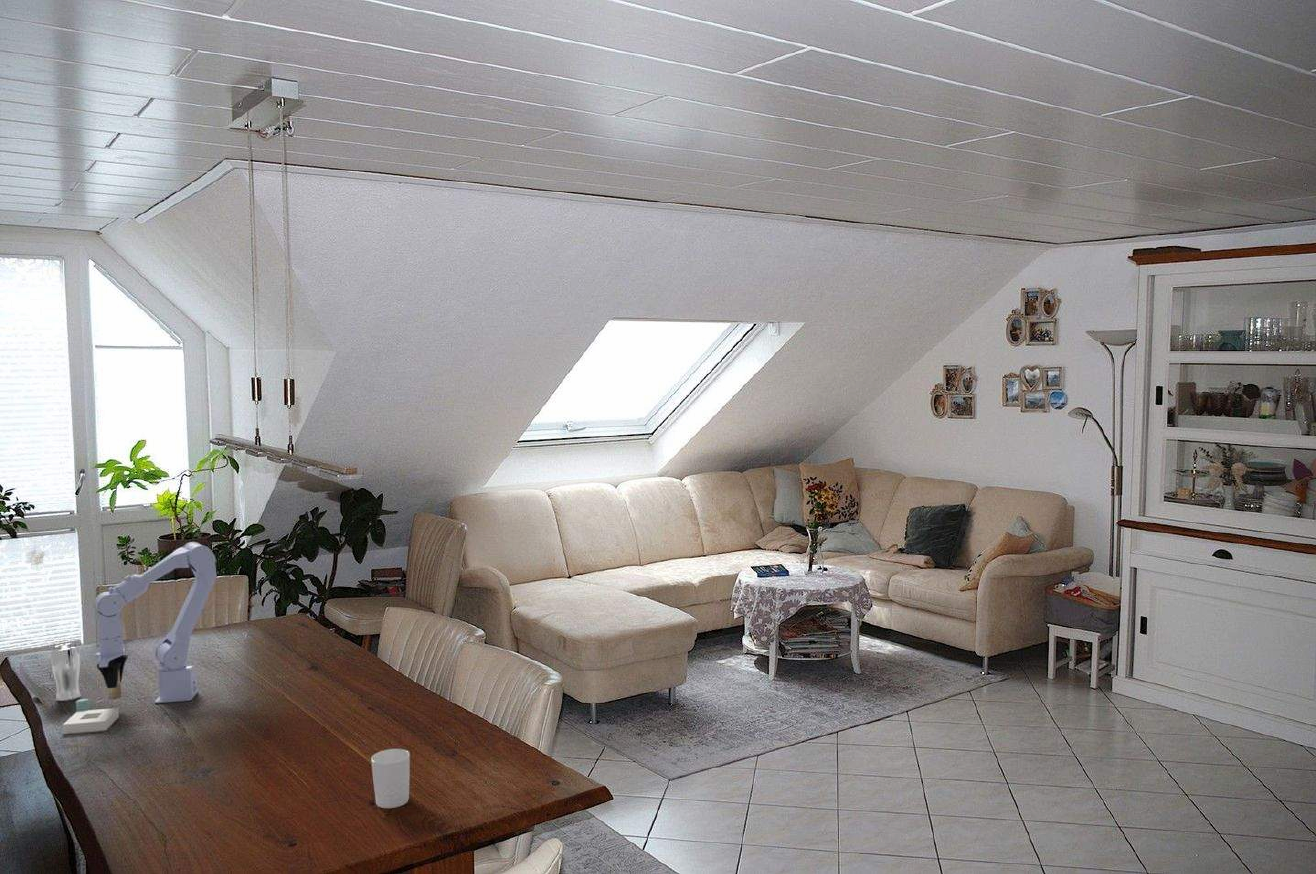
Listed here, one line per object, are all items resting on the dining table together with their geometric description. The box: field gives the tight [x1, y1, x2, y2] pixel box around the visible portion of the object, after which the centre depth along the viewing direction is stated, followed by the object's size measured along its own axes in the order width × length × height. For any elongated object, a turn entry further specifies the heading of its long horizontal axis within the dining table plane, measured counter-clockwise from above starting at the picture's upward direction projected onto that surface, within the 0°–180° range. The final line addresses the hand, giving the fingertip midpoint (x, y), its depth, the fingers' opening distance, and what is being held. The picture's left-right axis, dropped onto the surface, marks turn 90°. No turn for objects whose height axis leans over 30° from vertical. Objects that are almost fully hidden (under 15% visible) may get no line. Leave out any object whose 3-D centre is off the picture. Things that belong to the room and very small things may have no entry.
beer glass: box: [50, 642, 82, 702], centre depth 282 cm, size 7×7×15 cm
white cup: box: [370, 748, 411, 809], centre depth 211 cm, size 8×8×10 cm
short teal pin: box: [75, 698, 91, 712], centre depth 267 cm, size 3×3×4 cm
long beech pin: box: [107, 671, 122, 700], centre depth 271 cm, size 3×3×8 cm
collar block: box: [62, 707, 120, 735], centre depth 260 cm, size 10×10×2 cm
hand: (114, 685), depth 271 cm, fingers closed on long beech pin, 3 cm apart
